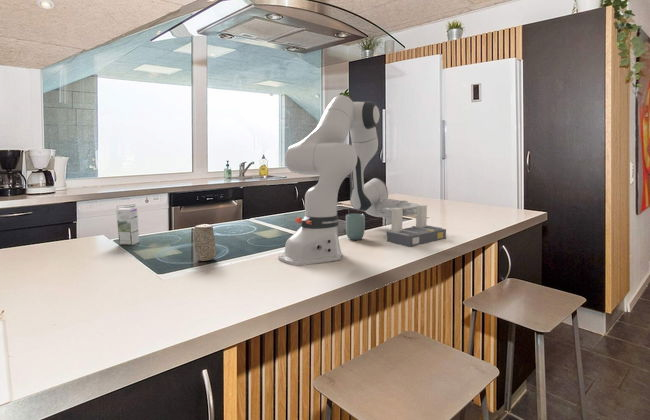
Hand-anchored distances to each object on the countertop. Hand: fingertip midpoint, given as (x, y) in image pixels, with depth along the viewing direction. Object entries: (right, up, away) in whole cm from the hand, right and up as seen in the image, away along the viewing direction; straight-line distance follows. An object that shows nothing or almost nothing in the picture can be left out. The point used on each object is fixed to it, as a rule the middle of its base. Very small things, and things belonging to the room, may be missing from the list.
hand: (417, 212), depth 180 cm
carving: (-79, -16, -35) cm, 88 cm away
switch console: (-2, -11, -7) cm, 13 cm away
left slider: (-10, -7, -10) cm, 16 cm away
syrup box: (-117, -13, -8) cm, 118 cm away
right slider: (+1, -6, -1) cm, 6 cm away
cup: (-26, -11, -4) cm, 29 cm away
